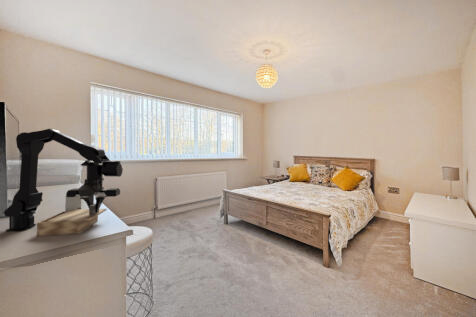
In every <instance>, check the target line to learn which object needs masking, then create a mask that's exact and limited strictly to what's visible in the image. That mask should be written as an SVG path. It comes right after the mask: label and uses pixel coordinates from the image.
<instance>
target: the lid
mask: <svg viewBox="0 0 476 317" xmlns="http://www.w3.org/2000/svg"><path fill="white" fill-rule="evenodd" d="M107 210H108V209H107V208H99V210H98V212H96V202H94V204H93V205H90V206H89V208H82V209H77V210H70V211H68V212H66V213H64V214H61V215H59V216H57V217H55V218H52V219H50V220H48V221H47V223H49V222H76V221H90V220H91V219H93V218H95V217H96V216H98V217H99V216H100V215H101V214H102V213H104V212H106V211H107Z"/></svg>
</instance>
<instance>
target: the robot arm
mask: <svg viewBox="0 0 476 317" xmlns="http://www.w3.org/2000/svg"><path fill="white" fill-rule="evenodd" d="M52 141H54V142H56V143H58V144H61V145H63V146H65V147H67V148H69V149H71V150H73V151H75V152H77V153H78V154H79V155H80V156H81V157H82V158H83V159H85V161H84V162H82V163H81V164H80V167H86V178H85V179H84V184H82V185H81V186H79V187H78V188H71V189H68V190H67V191H66V194H65V198H66V197H75V196H76V195H79V196H80V199H82V201H84V202H85V204H86V205H87V207H88V208H87V209H89V206H90V205H93V204H95V203H96V212H98V210H99V209H101V206H102V204H103V202H104V200H105V198H107V197H108V198H109V197H113V198H114V197H117V196H119V195H121V189H120V188H119V187H113V188H112V187H111V188H108V189H105V188H104V186H103V182H104V180H105V178H104V177H112V178H113V177H118V178H119V177H122V174H123V171H124V169H123V166H122V164H121V161H119V160H114V161H113V160H110V159H109V158H108V156H107V155H106V152H105V150H104V148H102V147H99V146H95V145H91V144H86V143H84V142H82V141H80V140H78V139H76V138H74V137H71V136H70V135H68V134H66V133H63V132H62V131H60V130H58V129H53V128H47V129H42V130H38V131H37V130H36V131H30V132H25V131H24V132H21V133H19V134H17V135H16V138H15V142H16V148H17V149H18V151H19V152H20V154H21V158H20V171H19V172H20V174H19V175H20V176H19V188H18V190H17V192H16V193H15V194H14V196H13V199H12V201H11V202H12V203H11V205H9V207H7V208H6V209H5V210H3V214H4V216H5V217H8V218H9V219H8V221H9V223H8V224H9V228H6V229H5V232H15V231H16V232H17V231H25V230H29V229H30V228H33V227H34V226H37V223H35V215H34V212H35V211H37V210H38V207H39V206H41V203H42V202H43V191H39V190H38V189H37V181H38V166H39V155H40V153H41V152H42V151H43V149H44V147H45V144H47V143H50V142H52ZM103 176H104V177H103ZM95 195H96V196H97V197H95ZM94 199H95V200H94Z"/></svg>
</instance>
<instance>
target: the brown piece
mask: <svg viewBox="0 0 476 317" xmlns="http://www.w3.org/2000/svg"><path fill="white" fill-rule="evenodd" d="M66 212H68V211H65V210H64V211H61V212H59V213H57V214H55V215H53V216H49V217H47V218H46V219H43V220H41V221H39V222H36V237H45V236H46V237H47V236H64V235H66V236H67V235H79V234H81V233H83V232H84V231H86V230H87V229H88V228H90V227H91V226H93V225H94V224H96V223H97V222H99V215H98V216H96V217H95V218H93V219H91V220H90V221H76V222H49V223H47V221H48V220H50V219H52V218H55V217H57V216H59V215H61V214H64V213H66Z"/></svg>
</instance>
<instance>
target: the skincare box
mask: <svg viewBox="0 0 476 317" xmlns="http://www.w3.org/2000/svg"><path fill="white" fill-rule="evenodd" d="M64 206H65V207H64V211H70V210H77V209H83V199H80V196H79V195H76V196H75V197H66V196H65V205H64Z"/></svg>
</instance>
